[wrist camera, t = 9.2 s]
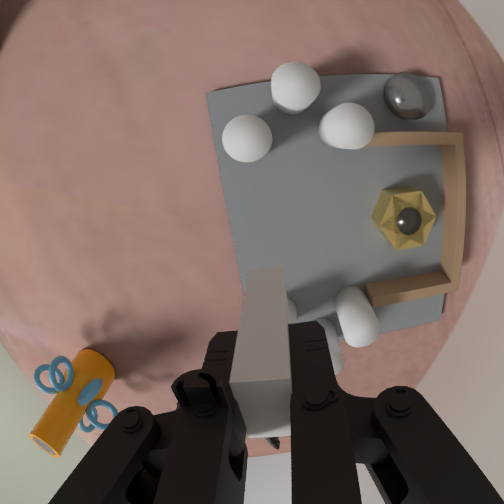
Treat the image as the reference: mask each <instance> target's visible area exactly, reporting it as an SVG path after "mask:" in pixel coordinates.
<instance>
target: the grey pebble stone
mask: <svg viewBox="0 0 504 504" xmlns="http://www.w3.org/2000/svg"><path fill="white" fill-rule="evenodd" d="M383 97H384V101H385V103H386V105H387V107H388V109H389V110H390V111H391V112H392V113H393V114H394V115H395V116H397V117H398V118H400V119H403V120H417V119H421V118H423V117H424V116H426V115H427V113H428V112H429V110H430V107H431V95H430V91H429V89H428V87H427V85H426V84H425V83H424V81H423V80H422V79H421V78H419V77H418V76H416V75H415V74H412V73H408V72H401V73H398V74H396V75H394V76H392V77H390V78H389V79H388V80H387V81H386V83H385V85H384V89H383Z"/></svg>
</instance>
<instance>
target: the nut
mask: <svg viewBox="0 0 504 504" xmlns="http://www.w3.org/2000/svg"><path fill="white" fill-rule="evenodd" d="M435 218H436V215H435V214H434V212H433V210H432V208H431V206H430V204H429V203H428V201H427V199H426V197H425V196H424V194H423V192H422V191H421V190H418V189H416V188H413V187H411V186H405V187H397V188H390V189H383V190H382V191H381V193H380V196H379V198H378V201H377V203H376V206H375V208H374V211H373V213H372V216H371V220H372V221H373V223H374V224H375V225H376V227H377V228H378V230H379V231H380V233H381V234H382V236H383V237H384V239H385V240H386V241H387V242H388V243H389V244H390V245H391V246H392V247H393V248H394V249H395V250H396V251H398V250H403V249H408V248H413V247H418V246H423V245H424V243H425V241H426V239H427V237H428V235H429V232H430V230H431V228H432V225H433V223H434V221H435Z"/></svg>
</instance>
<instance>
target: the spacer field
mask: <svg viewBox="0 0 504 504" xmlns="http://www.w3.org/2000/svg"><path fill="white" fill-rule="evenodd" d="M392 76H394V75H391V74H347V75H326V76H318V75H317V73H316V72H315V70H314V69H313V68H311V67H310V66H308V65H307V64H304V63H301V62H288V63H285V64H282V65H281V66H279V67H278V68H277V69H276V70H275V72H274V73H273V75H272V78H271V81H268V82H262V83H255V84H249V85H244V86H238V87H233V88H228V89H223V90H218V91H214V92H209V93H206V98H207V104H208V110H209V115H210V121H211V127H212V132H213V138H214V143H215V149H216V154H217V159H218V165H219V170H220V175H221V181H222V186H223V191H224V197H225V202H226V207H227V212H228V217H229V222H230V228H231V233H232V238H233V243H234V248H235V253H236V258H237V263H238V268H239V273H240V278H241V283H242V287H243V292H244V293H245V287H246V281H247V275H248V270H254V269H261V268H269V267H276V266H283V272H284V279H285V286H286V294H287V301H288V308H289V316H290V324H293V323H301V322H308V321H315V320H316V321H317V322H318V323H319V324H320V325H321V326H323V327H324V329H325V333H326V338H327V342H328V346H329V350H330V355H331V359H332V364H333V368H334V373H335V375H336V374H338V373H339V372H340V371H341V370H342V368H343V365H344V361H343V357H342V353H341V349H340V345H339V340H345V341H346V342H347V343H348V344H349V345H351V346H353V347H364V346H367V345H369V344H371V343H372V342H374V341H375V340H376V339H377V337H378V336H379V334H380V333H385V332H390V331H395V330H400V329H405V328H409V327H414V326H418V325H422V324H427V323H431V322H435V321H439V320H440V318H441V312H442V307H443V300H444V294H445V293H449V292H453V291H457V290H459V283H460V276H461V268H462V260H463V250H464V238H465V221H466V169H465V152H464V140H463V133H460V132H447V125H446V117H445V110H444V104H443V98H442V93H441V87H440V82H439V78H435V77H424V76H418V77H419V78H421V79H422V80H423V81H424V83H425V84H426V85H427V87H428V89H429V91H430V95H431V107H430V110H429V112H428V113H427V115H426V116H424V117H423V118H421V119H417V120H403V119H400V118H398V117H397V116H395V115H394V114H393V113H392V112H391V111H390V110H389V109H388V107H387V105H386V103H385V101H384V97H383V89H384V85H385V83H386V81H387V80H388V79H389V78H390V77H392ZM405 186H411V187H413V188H416V189H418V190H421V191H422V192H423V194H424V196H425V197H426V199H427V201H428V203H429V204H430V206H431V208H432V210H433V212H434V214H435V215H436V218H435V221H434V223H433V225H432V228H431V230H430V232H429V235H428V237H427V239H426V241H425V243H424V245H423V246H418V247H413V248H408V249H403V250H398V251H396V250H395V249H394V248H393V247H392V246H391V245H390V244H389V243H388V242H387V241H386V240H385V239H384V237H383V236H382V234H381V233H380V231H379V230H378V228H377V227H376V225H375V224H374V223H373V221H372V220H371V216H372V213H373V211H374V208H375V206H376V203H377V201H378V198H379V196H380V193H381V191H382V190H383V189H390V188H397V187H405Z"/></svg>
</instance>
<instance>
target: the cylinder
mask: <svg viewBox="0 0 504 504" xmlns="http://www.w3.org/2000/svg"><path fill="white" fill-rule="evenodd" d="M59 363H64V364H65V365H66V367H67V368H66V370H65V375H64V376H63V374H62V372H61V371H60V370H59V369H58V368H57V366H58V364H59ZM45 370H49V379H50V382H51V384H52V386H53V387H54V388H49V387H46V386H44V385H43V384H42V383H41V381H40V378H39V377H40V374H41V372H43V371H45ZM55 373H56V374H57V376H58V378H59V384H58V383H57V381H56V378H55ZM114 379H115V371H114V368H113V366H112V365H111V363H110V362H109V361H108V360H107V359H106V358H105V357H104V356H103V355H101V354H100V353H98V352H96V351H94V350H91V349H83V350H81V351H80V352H79V353H78V354H77V355H76V357H75V358H74V359H73V360H72V362H70V360H69V359H68V358H66V357H64V356H58V357H56V358H55V359H54V360H53V361H52V363H51V365H49V364H44V365H41V366H39V367H38V368H37V369H36V370H35V373H34V380H35V383H36V385H37V386H38V388H39V389H41V390H42V391H43V392H45V393H49V394H56V393H57V395H56V396H55V398H54V399H53V401H52V402H51V403H50V405H49V406H48V408H47V409H46V411H45V412H44V414H43V415H42V417H41V418H40V419H39V421H38V422H37V424H36V425H35V427H34V428H33V430H32V431H31V433H30V438H31V439H32V440H33V441H34V442H35V443H36V444H37V445H38V446H39V447H40V448H41V449H43V450H44V451H46V452H47V453H49V454H50V455H52V456H54V457H57V458H59V457H60V455H61V453H62V451H63V450H64V448H65V446H66V444H67V443H68V441H69V439H70V437H71V436H72V434H73V432H74V430H75V429H76V427H77V425H79V427H80V429H81V430H82V431H84V432H91V431H93V430H94V428H95V427H97V428H99V429H102V430H105V429H106V428H107V426H108V425H109V424H110V423H109V424H102V423H99V422H98V421H97V419H98V415H97V410H96V408H95V407H96V406H99V405H101V406H105V407H107V408H108V409H110V410H111V412H112V414H113V419H114V417H115V416H116V415H117V414H118V411H117V409H116V408H115V407H114V406H113V405H112V404H111V403H109V402H107V401H105V400H101V399H103V397H104V396H105V394H106V392H107V391H108V389H109V387H110V386H111V384H112V382H113V380H114ZM85 412H86V415H87V418H88V420H89V421H90V423H91V424H90V425H89V426H88V427H85V426H84V424H83V415H84V414H85Z"/></svg>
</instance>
